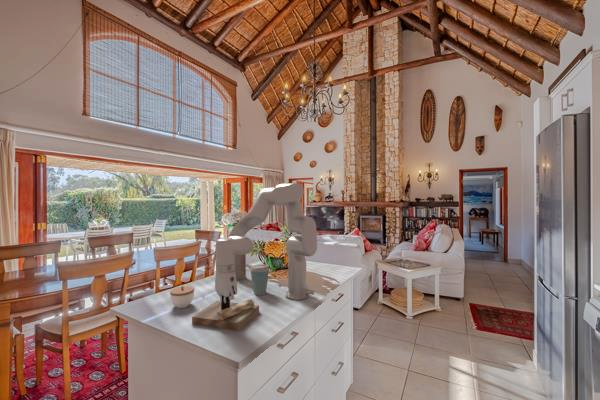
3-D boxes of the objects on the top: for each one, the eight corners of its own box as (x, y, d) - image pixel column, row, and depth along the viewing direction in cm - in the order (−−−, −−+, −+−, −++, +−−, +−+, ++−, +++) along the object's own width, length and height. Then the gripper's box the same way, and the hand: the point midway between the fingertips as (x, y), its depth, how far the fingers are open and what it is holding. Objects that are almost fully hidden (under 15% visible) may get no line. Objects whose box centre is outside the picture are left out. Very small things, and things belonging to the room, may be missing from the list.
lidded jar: (199, 302, 136) (198, 284, 136) (183, 311, 126) (183, 291, 125) (181, 300, 139) (181, 282, 139) (165, 308, 129) (164, 288, 129)
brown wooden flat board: (259, 312, 124) (259, 305, 124) (239, 330, 107) (239, 322, 107) (216, 306, 131) (216, 300, 131) (192, 323, 113) (191, 316, 113)
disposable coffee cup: (246, 295, 146) (246, 267, 145) (255, 288, 156) (255, 262, 156) (265, 297, 143) (265, 268, 143) (272, 290, 153) (272, 263, 153)
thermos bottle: (248, 277, 177) (247, 234, 177) (239, 280, 171) (239, 236, 170) (239, 275, 182) (239, 233, 181) (230, 278, 175) (230, 235, 175)
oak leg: (249, 305, 124) (249, 298, 124) (254, 306, 122) (254, 300, 122) (217, 318, 111) (217, 311, 111) (222, 320, 109) (221, 313, 109)
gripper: (243, 269, 114) (243, 312, 114) (222, 263, 123) (223, 303, 124) (228, 272, 108) (228, 319, 108) (207, 266, 118) (208, 309, 118)
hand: (225, 310), depth 116 cm, fingers closed
